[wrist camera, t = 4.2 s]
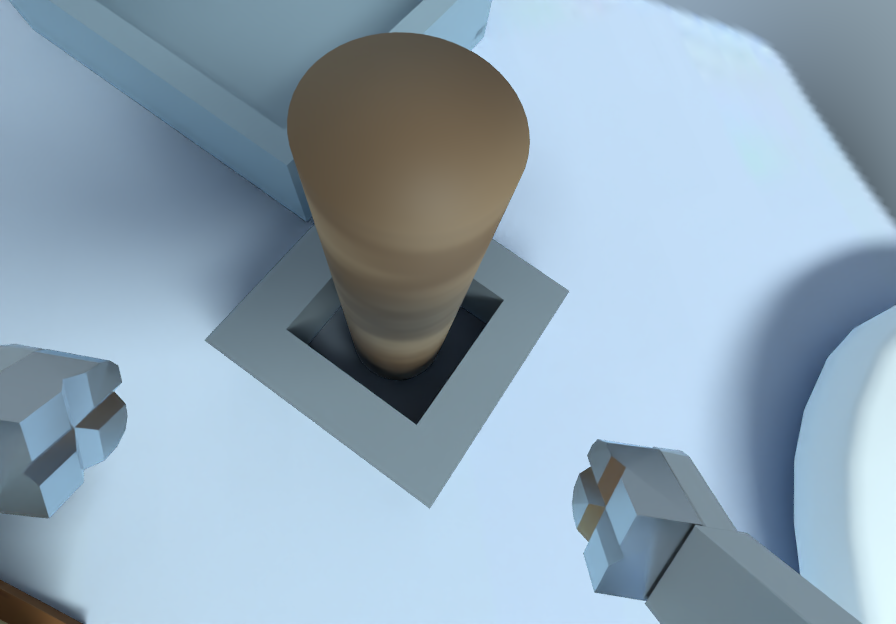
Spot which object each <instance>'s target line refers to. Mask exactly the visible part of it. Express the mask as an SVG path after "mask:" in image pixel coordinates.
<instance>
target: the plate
mask: <svg viewBox="0 0 896 624" xmlns="http://www.w3.org/2000/svg"><path fill="white" fill-rule="evenodd" d="M794 527H795V535H796V544H797V552H798V560H799V569H800V575H801V576H802V577H804V578H805V579H806V580H807V581H809V582H810V583H811V584H813V585H814V586H815V587H816V588H818V589H819V590H820V591H822V592H823V593H824V594H825V595H827V596H828V597H829V598H830V599H832V600H833V601H834V602H836V603H837V604H838V605H839V606H841V607H842V608H843V609H844V610H846V611H847V612H848V613H850V614H851V615H852V616H853V617H855V618H856V619H857V620H859V621H860V622H861V623H862V624H896V305H895V306H893V307H891V308H889V309H888V310H886V311H884V312H882V313H880V314H879V315H877V316H875V317H873V318H871V319H870V320H868V321H866V322H864V323H862V324H861V325H859V326H857V327H855V328H854V329H853V330H852V331H851V332H850V333H849V334H848V335H847V336H846V338H845V339H844V340H843V341H842V342H841V343H840V344H839V345H838V347H837V348H836V349H835V350H834V351H833V352H832V353H831V354H830V355H829V357H828V358H827V360H826V362H825V365H824V367H823V369H822V371H821V373H820V376H819V378H818V380H817V382H816V385H815V387H814V389H813V391H812V394H811V396H810V398H809V400H808V403H807V405H806V407H805V409H804V413H803V418H802V423H801V428H800V433H799V439H798V444H797V449H796V454H795V459H794Z"/></svg>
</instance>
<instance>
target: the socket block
mask: <svg viewBox="0 0 896 624" xmlns="http://www.w3.org/2000/svg"><path fill="white" fill-rule="evenodd" d="M568 292H569V291H568V290H567V289H566V288H564V287H563V286H561V285H560V284H558V283H557V282H555V281H554V280H552V279H551V278H549V277H548V276H546V275H545V274H543V273H542V272H541V271H539V270H538V269H536V268H535V267H533V266H532V265H530V264H529V263H527V262H526V261H524V260H523V259H521V258H520V257H518V256H517V255H516V254H514V253H513V252H511V251H510V250H508V249H507V248H505V247H504V246H502V245H501V244H499V243H498V242H496V241H495V240H493V239H492V240H491V242H490V244H489V246H488V248H487V250H486V253H485V255H484V257H483V259H482V261H481V263H480V265H479V267H478V270H477V272H476V274H475V276H474V278H473V280H472V282H471V284H470V287H469V289H468V291H467V293H466V295H465V297H464V299H463V301H462V304H461V307H463V308H464V309H466V310H467V311H469V312H470V313H471V314H473V315H474V316H476V317H477V318H479V319H480V320H481V321H483V322H484V323H486V325H485V327H484V328H483V330H482V331H481V333H480V334H479V335H478V337H477V338H476V340H475V341H474V343H473V344H472V346H471V347H470V348H469V350H468V351H467V353H466V354H465V356H464V357H463V358H462V360H461V361H460V363H459V364H458V366H457V367H456V368H455V370H454V371H453V373H452V374H451V376H450V377H449V378H448V380H447V381H446V383H445V384H444V386H443V387H442V388H441V390H440V391H439V393H438V394H437V396H436V397H435V398H434V400H433V401H432V403H431V404H430V406H429V407H428V408H427V410H426V411H425V413H424V414H423V416H422V417H421V419H420V420H419V421H418V423H417V424H415V423H413V422H412V421H411V420H409V419H408V418H407V417H405V416H404V415H402V414H401V413H400V412H398V411H397V410H396V409H394V408H393V407H392V406H390V405H389V404H387V403H386V402H385V401H383V400H382V399H381V398H379V397H378V396H376V395H375V394H374V393H372V392H371V391H370V390H368V389H367V388H366V387H364V386H363V385H361V384H360V383H359V382H357V381H356V380H355V379H353V378H352V377H350V376H349V375H348V374H346V373H345V372H344V371H342V370H341V369H340V368H338V367H337V366H335V365H334V364H333V363H331V362H330V361H329V360H327V359H326V358H325V357H323V356H322V355H320V354H319V353H318V352H316V351H315V350H314V349H312V348H311V347H309V346H308V344H309V343H310V342H311V341H312V339H313V338H314V337H315V336H316V335H317V334H318V332H319V331H320V330H321V329H322V328H323V326H324V325H325V324H326V323H327V322H328V321H329V319H330V318H331V317H332V316H333V315H334V313H335V312H336V311H337V310H338V309H339V308H340V306H341V303H340V300H339V297H338V294H337V291H336V288H335V285H334V281H333V278H332V275H331V272H330V269H329V266H328V263H327V260H326V257H325V254H324V251H323V248H322V245H321V242H320V238H319V235H318V232H317V229H316V226H315V224H314V225H313V226H312V227H311V228H310V229H309V230H308V231H307V232H306V233H305V235H304V236H303V237H302V238H301V239H300V240H299V241H298V242H297V243H296V244H295V245H294V246H293V247H292V248H291V249H290V250H289V251H288V253H287V254H286V255H285V256H284V257H283V258H282V259H281V260H280V261H279V262H278V263H277V264H276V265H275V266H274V267H273V268H272V269H271V270H270V272H269V273H268V274H267V275H266V276H265V277H264V278H263V279H262V280H261V281H260V282H259V283H258V284H257V285H256V286H255V287H254V288H253V290H252V291H251V292H250V293H249V294H248V295H247V296H246V297H245V298H244V299H243V300H242V301H241V302H240V303H239V304H238V305H237V306H236V308H235V309H234V310H233V311H232V312H231V313H230V314H229V315H228V316H227V317H226V318H225V319H224V320H223V321H222V322H221V323H220V324H219V326H218V327H217V328H216V329H215V330H214V331H213V332H212V333H211V334H210V335H209V336H208V337H207V338H206V339H205V341H206V342H208V343H209V344H210V345H212V346H213V347H214V348H216V349H217V350H218V351H220V352H221V353H222V354H224V355H225V356H226V357H228V358H229V359H230V360H232V361H233V362H234V363H236V364H237V365H238V366H240V367H241V368H242V369H244V370H245V371H246V372H248V373H249V374H250V375H252V376H253V377H254V378H256V379H257V380H258V381H260V382H261V383H262V384H264V385H265V386H266V387H268V388H269V389H270V390H272V391H273V392H274V393H276V394H277V395H278V396H280V397H281V398H283V399H284V400H285V401H287V402H288V403H289V404H291V405H292V406H293V407H295V408H296V409H297V410H299V411H300V412H301V413H303V414H304V415H305V416H307V417H308V418H309V419H311V420H312V421H313V422H315V423H316V424H317V425H319V426H320V427H321V428H323V429H324V430H325V431H327V432H328V433H329V434H331V435H332V436H333V437H335V438H336V439H337V440H339V441H340V442H341V443H343V444H344V445H345V446H347V447H348V448H349V449H351V450H352V451H353V452H355V453H356V454H357V455H359V456H360V457H361V458H363V459H364V460H365V461H367V462H368V463H369V464H371V465H372V466H373V467H375V468H376V469H377V470H379V471H380V472H382V473H383V474H384V475H386V476H387V477H388V478H390V479H391V480H392V481H394V482H395V483H396V484H398V485H399V486H400V487H402V488H403V489H404V490H406V491H407V492H408V493H410V494H411V495H412V496H414V497H415V498H416V499H418V500H419V501H420V502H422V503H423V504H424V505H426V506H427V507H428V508H431V506H432V504H433V503H434V501H435V500H436V498H437V497H438V495H439V494H440V492H441V490H442V489H443V487H444V486H445V484H446V483H447V481H448V480H449V478H450V476H451V475H452V473H453V472H454V470H455V469H456V467H457V466H458V464H459V462H460V461H461V459H462V458H463V456H464V455H465V453H466V451H467V450H468V448H469V447H470V445H471V444H472V442H473V441H474V439H475V437H476V436H477V434H478V433H479V431H480V430H481V428H482V427H483V425H484V423H485V422H486V420H487V419H488V417H489V416H490V414H491V413H492V411H493V409H494V408H495V406H496V405H497V403H498V402H499V400H500V398H501V397H502V395H503V394H504V392H505V391H506V389H507V388H508V386H509V384H510V383H511V381H512V380H513V378H514V377H515V375H516V374H517V372H518V370H519V369H520V367H521V366H522V364H523V363H524V361H525V359H526V358H527V356H528V355H529V353H530V352H531V350H532V349H533V347H534V345H535V344H536V342H537V341H538V339H539V338H540V336H541V335H542V333H543V331H544V330H545V328H546V327H547V325H548V324H549V322H550V321H551V319H552V317H553V316H554V314H555V313H556V311H557V310H558V308H559V306H560V305H561V303H562V302H563V300H564V299H565V297H566V296H567V294H568Z"/></svg>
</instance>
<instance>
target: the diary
mask: <svg viewBox="0 0 896 624" xmlns="http://www.w3.org/2000/svg"><path fill="white" fill-rule="evenodd" d="M0 624H83V623H81V622H79V621H77V620H75V619H73V618H71V617H70V616H68V615H66V614H64V613H62V612H60V611H58V610H56V609H55V608H53V607H51V606H49V605H47V604H45V603H43V602H41V601H40V600H38V599H36V598H34V597H32V596H30V595H28V594H27V593H25V592H23V591H21V590H19V589H17V588H15V587H13V586H12V585H10V584H8V583H6V582H4V581H2V580H0Z"/></svg>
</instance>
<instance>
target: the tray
mask: <svg viewBox="0 0 896 624" xmlns="http://www.w3.org/2000/svg"><path fill="white" fill-rule="evenodd" d="M9 1H10V2H11V3H12V5H13V6H14V7H15V8H16V9H17V11H18V12H19V13H20V14H21V15H22V17H23V18H24V19H25V20H26V21H27V23H28V24H29V25H30V26H31V27H32V29H34V30H35V31H36V32H38V33H39V34H41V35H42V36H43V37H45V38H46V39H48V40H49V41H51V42H52V43H53V44H55V45H56V46H58V47H59V48H61V49H62V50H63V51H65V52H66V53H68V54H69V55H70V56H72V57H73V58H75V59H76V60H78V61H79V62H80V63H82V64H83V65H85V66H86V67H87V68H89V69H90V70H92V71H93V72H95V73H96V74H97V75H99V76H100V77H102V78H103V79H105V80H106V81H107V82H109V83H110V84H112V85H113V86H114V87H116V88H117V89H119V90H120V91H122V92H123V93H124V94H126V95H127V96H129V97H130V98H132V99H133V100H134V101H136V102H137V103H139V104H140V105H141V106H143V107H144V108H146V109H147V110H149V111H150V112H151V113H153V114H154V115H156V116H157V117H159V118H160V119H161V120H163V121H164V122H166V123H167V124H168V125H170V126H171V127H173V128H174V129H176V130H177V131H178V132H180V133H181V134H183V135H184V136H185V137H187V138H188V139H190V140H191V141H193V142H194V143H195V144H197V145H198V146H200V147H201V148H203V149H204V150H205V151H207V152H208V153H210V154H211V155H212V156H214V157H215V158H217V159H218V160H220V161H221V162H222V163H224V164H225V165H227V166H228V167H230V168H231V169H232V170H234V171H235V172H237V173H238V174H239V175H241V176H242V177H244V178H245V179H247V180H248V181H249V182H251V183H252V184H254V185H255V186H257V187H258V188H259V189H261V190H262V191H264V192H265V193H266V194H268V195H269V196H271V197H272V198H274V199H275V200H276V201H278V202H279V203H281V204H282V205H283V206H285V207H286V208H288V209H289V210H291V211H292V212H293V213H295V214H296V215H298V216H299V217H301V218H302V219H303V220H305V221H306V222H307V221H308V220H309V219H310V218H311V217H312V214H311V211H310V208H309V205H308V202H307V199H306V195H305V192H304V189H303V186H302V183H301V180H300V177H299V174H298V171H297V168H296V165H295V162H294V159H293V155H292V152H291V149H290V146H289V140H288V135H287V116H288V110H289V105H290V102H291V99H292V96H293V93H294V91H295V89H296V87H297V85H298V83H299V81H300V80H301V79H302V77H303V76H304V75H305V73H306V72H307V70H308V69H309V68H310V67H311V66H312V65H313V64H314V63H315V62H316V61H317V60H319V59H320V58H321V57H323V56H324V55H325V54H327V53H328V52H330V51H331V50H333V49H335V48H337V47H338V46H340V45H342V44H345V43H347V42H349V41H352V40H355V39H358V38H361V37H365V36H369V35H374V34H380V33H392V32H406V33H417V34H425V35H429V36H434V37H438V38H441V39H444V40H447V41H450V42H453V43H455V44H458V45H460V46H462V47H464V48H466V49H468V50H470V51H471V50H472V49H473V48H474V46H475V45H476V44H477V43H478V42H479V41H480V40H481V39H482V38H483V37H484V34H485V29H486V25H487V20H488V16H489V11H490V7H491V2H492V0H9Z"/></svg>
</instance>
